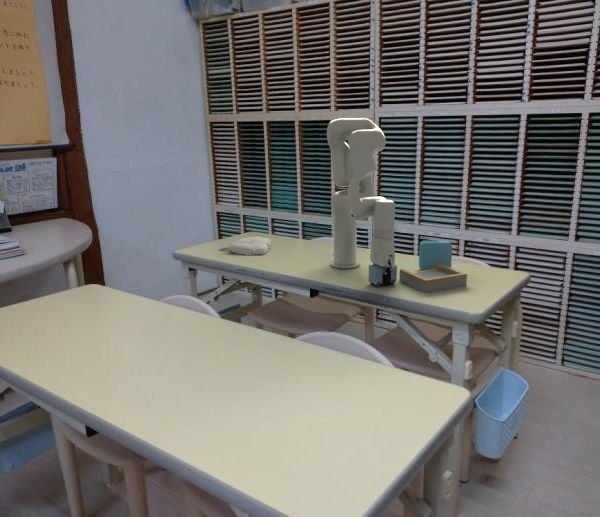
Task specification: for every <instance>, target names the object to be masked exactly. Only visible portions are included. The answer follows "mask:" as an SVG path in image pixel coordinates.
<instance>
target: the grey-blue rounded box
mask: <svg viewBox="0 0 600 517" xmlns="http://www.w3.org/2000/svg"><path fill="white" fill-rule="evenodd" d="M387 265H388V264H387ZM394 265H395V269H394V270H393V271H392V274H391V285H394V284H396V282H397V281H398V280H397V279H398V278H397V276H398V265H396V264H394ZM388 268H389V267H386V270H387V269H388ZM383 274H384V270H383V267H381V266H379V265H377V264H375V265H373V264H369V265H368V282H369V283H370V284H371V285H374V287H380V286H381V284H382V285H383Z"/></svg>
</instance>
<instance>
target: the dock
mask: <svg viewBox="0 0 600 517" xmlns="http://www.w3.org/2000/svg"><path fill="white" fill-rule="evenodd" d="M467 279H468V273H466V272H463V271H460V270H458V269H455V268H452V267H451V268H450V267H447V266H445V265H442V264H439V263H438V264H436V269H431V270H424V271H421V270H419V271H412V272H411V271H409V270H407V269H405V268H399V282H402V283H403V282H404V284H405V283H406V285H407V284H408V286H410V287H412V288H414V289H416V290H418V291H420V292H422V293H424V294H426V293H427V294H428V293H432V292H438V291H444V290H448V289H450V290H451V289H455V288H461V287H467Z"/></svg>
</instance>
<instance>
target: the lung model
mask: <svg viewBox="0 0 600 517" xmlns="http://www.w3.org/2000/svg"><path fill="white" fill-rule="evenodd" d="M271 240H272V239H270V238H268V237H261V236H249V237H244V238H239V239H237V240H235V241H234V242H232V243H230V244H229V246H223V247H220V248H218V251H219V250H223V251H226V250H230V252H232V253H235V254H238V255H241V254H249V255H248V256H258V255H257V254H264V255H266V254H267V253H268V252H267V251H269V250H270V248H271V246H272V241H271ZM265 253H266V254H265ZM250 254H251V255H250ZM254 254H256V255H254Z"/></svg>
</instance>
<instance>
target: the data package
mask: <svg viewBox="0 0 600 517" xmlns="http://www.w3.org/2000/svg"><path fill="white" fill-rule="evenodd" d="M418 252H419V253H418V254H419V255H418V256H419V258H418V268H419V270H420V271H424V270H431V269H436V264H438V263H439V264H442V265H445V266H447V267H450V268H452V258H453V245H452V243H450V241H449V240H422V241H420V243H419V251H418Z"/></svg>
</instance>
